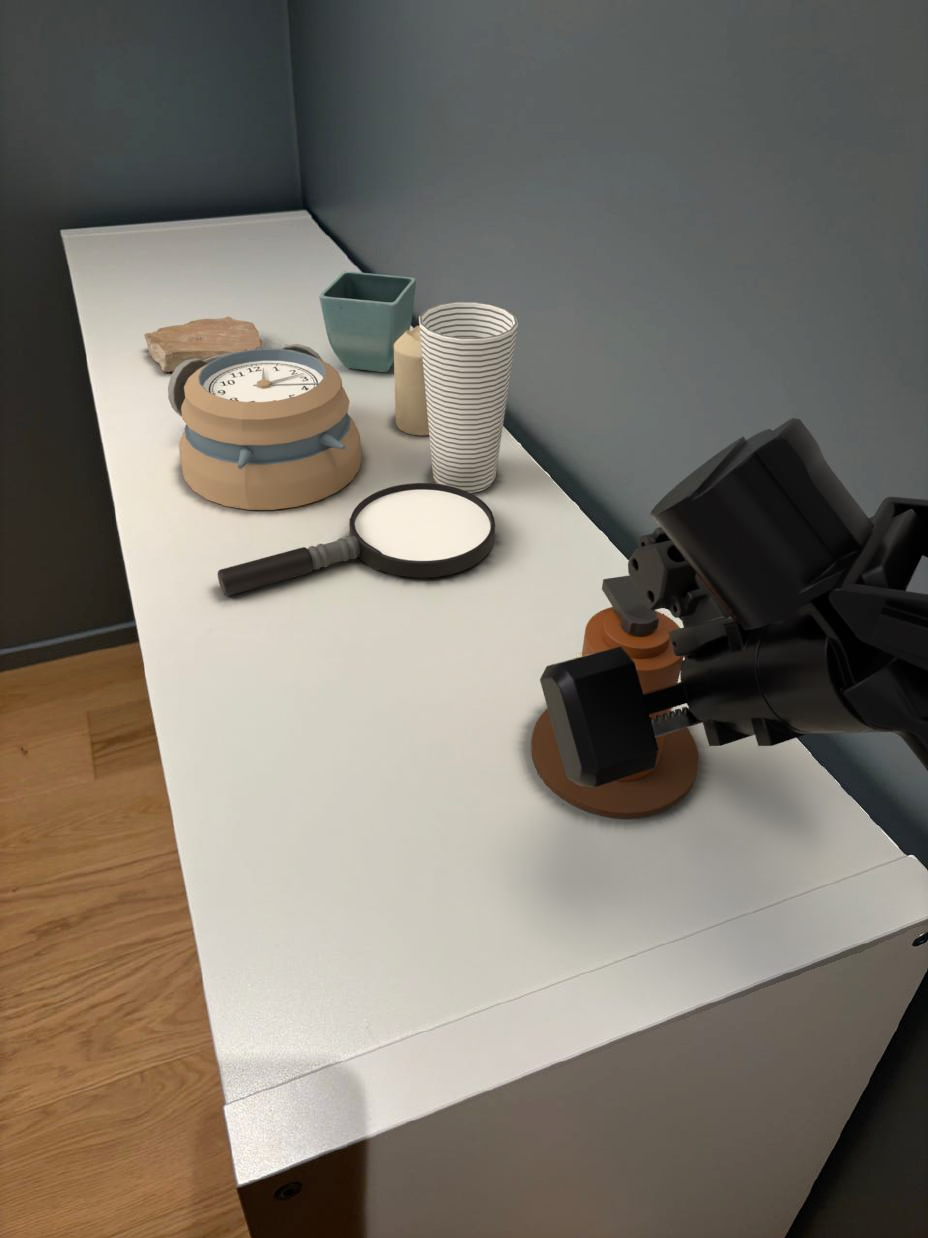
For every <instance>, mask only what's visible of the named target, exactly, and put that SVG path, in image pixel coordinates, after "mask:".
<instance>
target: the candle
mask: <svg viewBox="0 0 928 1238" xmlns="http://www.w3.org/2000/svg"><path fill="white" fill-rule="evenodd" d="M393 367H394V368H393V369H394V370H393V372H394V373H393V375H394V376H393V377H394V404H395V405H394V410H395V424H396V427H397V428H398V429H399V430H400V431H401V432H403V433H406V434H408V435H414V436H429V425H428V413H427V402H426V391H425V380H424V369H423V357H422V346H421V335H420V325H416V326H415V327H413V328H412V329H411V330H407V331H406V332H405V333H404V334H403V335H402V336H401V337H400V338H399V339H398V340H397V341H396V342H395V343H394V363H393Z"/></svg>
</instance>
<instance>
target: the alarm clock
mask: <svg viewBox="0 0 928 1238" xmlns="http://www.w3.org/2000/svg"><path fill="white" fill-rule="evenodd" d="M209 362H210V363H209ZM340 375H341V374H340V373H339V371H338V370H337V369H335V367H334V366H332V365H331V364H330V363H328V362H326V361H324V360H323V359H322V357H321V356H320V354H319V353H318V352H316V350H313V349H312V348H311V347H310V346H307V345H303V344H300V343H292V344H286V345H284V346H282V347H280V348H262V349H253V350H245V351H240V352H235V353H228V354H223V355H218V356H214V357H210V358H208V359H205V360H200V359H197V358H195V359H190V360H186V361H184V362H182V363H181V364H180V365H179V366H177V367H176V369H175V370H174V371H172V374H171V375H170V377H169V378H170V379H169V381H168V385H167V398H168V401H169V404H170V407H171V408H172V410H173V411H174V412H175V413H176V414H177V415H179V416H180V417H181V419H182V421H183V422H184V423H185V426H184V429H183V432H182V434H181V437H180V440H179V441H178V451H179V458H180V459H179V460H180V464H181V469H182V474H183V479H184V480H185V482H186V483H187V485H188V486H189V488H190V489H191V490H192V491H193V492H195V493H196V494H197V495H199V496H201V497H202V498H204V499H205V500H207V501H210V502H213V503H216V504H219V505H222V506H224V507H229V508H236V509H242V510H248V511H249V510H250V511H257V510H258V511H259V510H260V511H274V510H282V509H290V508H298V507H301V506H304V505H308V504H312V503H316V502H319V501H321V500H323V499H326V498H328V497H330V496H332V495H334V494H336V493H338V492H339V491H341V490H342V489H343V488H345V487H346V486H348V484H350V483H352V482H353V480H354V479H355V477H356V475H357V473H358V472H359V471H360V469H361V463H362V462H361V461H362V443H361V441H362V439H361V435H360V432H359V429H358V427H357V425H356V423H355V421H354V419H353V418H352V417H351V416H350V415H349V407H350V399H349V397H348V394H347V392H346V390H345V388H344V386H343V380H342V377H341V376H340Z"/></svg>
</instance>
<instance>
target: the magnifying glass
mask: <svg viewBox="0 0 928 1238" xmlns="http://www.w3.org/2000/svg"><path fill="white" fill-rule="evenodd" d="M348 524H349V527H348V528H349V535H348V536H345V538H344V537H343V538H342V537H340V538H338V539H337V540H334V541H332V542H328V543H318V544H317V545H316V546H315V545H311V546H309V547H308V548H307V547H305V546H303V547H298V548H295V549H291V550H287V551H284V552H280V553H276V554H273V555H270V556H265V557H261V558H258V559H255V560H250V561H247V562H243V563H240V564H236V565H232V566H228V567H224V568H221V569H219V570H218V571H217V579H218V584H219V586H220V590H221V591H222V593H223V595H224V596H226V597H228V596H233V595H237V594H241V593H244V592H248V591H251V590H255V589H258V588H262V587H264V586H269V585H272V584H276V583H280V582H283V581H285V580H289V579H293V578H296V577H301V576H303V575H307V574H310V573H312V572H313V571H314V570H320V569H321V568H327V567H329V565H333V564H336V563H339V562H347V561H349V560H350V559H351V560H356V559H357V558H359V559H360V561H362V562H363V563H365V564H366V565H367V566H368V567H370V568H371V569H374V570H375V571H378V572H381V571H382V572H385V573H388V574H392V575H395V576H400V577H406V578H421V579H422V578H425V579H426V578H428V579H429V578H439V577H446V576H450V575H453V574H457V573H461V572H463V571H466V570H468V569H470V568H472V567H473V566H475V565H478V563H480V562H481V561H482V560H483V559H485V558H486V556H488V554H489V553H490V551H491V550H492V548H493V546H494V543H495V536H496V535H495V533H496V521H495V517H494V513H493V511H492V509H491V508H490V507H489V505H487V503H486V502H484V500H483V499H481V498H480V497H478V496H476V495H475V494H474V493H469V492H467V491H464V490H462V489H459V488H455V487H452V486H447V485H442V484H437V483H432V482H414V483H412V482H411V483H404V484H403V483H402V484H397V485H392V486H389V487H387V488H383V489H380V490H378V491H376V492H374V493H372V494H369V495H368V496H367V497H365V498H364V499H362V500H361V501H360V502H359V503H358V504H357V505H356V507H355V508H354V509H353V511H352V513H351V515H350V517H349V523H348Z"/></svg>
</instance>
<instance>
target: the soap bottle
mask: <svg viewBox="0 0 928 1238" xmlns="http://www.w3.org/2000/svg"><path fill="white" fill-rule="evenodd" d="M601 591H602V592H603V593H604V595H605V597H606V598H607V600H608V602H609V603H610V605H611V607H607V608H604V609H602V610H600V611H599V612H596V613H595V614H593V615H592V616H591V618H590V619H589V620H588V622H587V623H586V625H585V628H584V636H583V642H582V649H581V652H577V653H576V654H575V655H576V656H575V658H577V657H581V656H585V655H588V654H592V653H596V652H600V651H603V650H607V649H611V648H615V647H620V646H621V647H622V648H623V649H624V651H625V652H626V653H627V654H628V655H629V657H630V658H631V659H632V660H633V661H634V663H635V666H636V670H637V674H638V677H639V681H640V684H641V688H642V691H643V693H645V692H649V691H652V690H655V689H659V688H662V687H665V686H669V685H672V684H675V683H679V679H680V672H681V664H682V661H683V660H684V659H685V658H684V655H682V656H676V655H675V654H674V651H673V647H672V644H671V640H670V637H669V633H668V632H669V631H673V630H677V629H680V628H681V627H680V625H679V624H677V622H676V621H675V620H673V619H672V618H670V617H669V616H667V615H666V614H664V613H662V612H660V611H657V610H653V611H652V610H650V609H648V608H647V607H645V606H644V604H643V602H642V600H641V598H640V596H639V594H638V591H637V589H636V587H635V585H634V583H633V581H632V579H631V577H630V575H629V574H628V575H623V576H615V577H608V578H603V579H602V583H601ZM672 709H673V708H670V709H666V710H663V711H660V712H657V713H653V714H650V715H649V717H654V719H655V716H656V715H661V717H662V714H663V713H667V714H668V715H669V711H672ZM664 738H665V735H662V736H659V737H656V742H657V745H658V749H659V751H658V756H657V760H656V765H657V764H658V762H659V759H660V755H661V751H662V747H663V742H664ZM656 765H655V767H656ZM653 769H654V768H653ZM653 769H650V770H647V771H643V772H640V773H637V774H634V775H631V776H628V777H625V778H622V779H619V780H616V781H628V780H634V779H638V778H641V777H643V776H645V775H647V774H648V773H650V772H651V771H652V770H653Z"/></svg>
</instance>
